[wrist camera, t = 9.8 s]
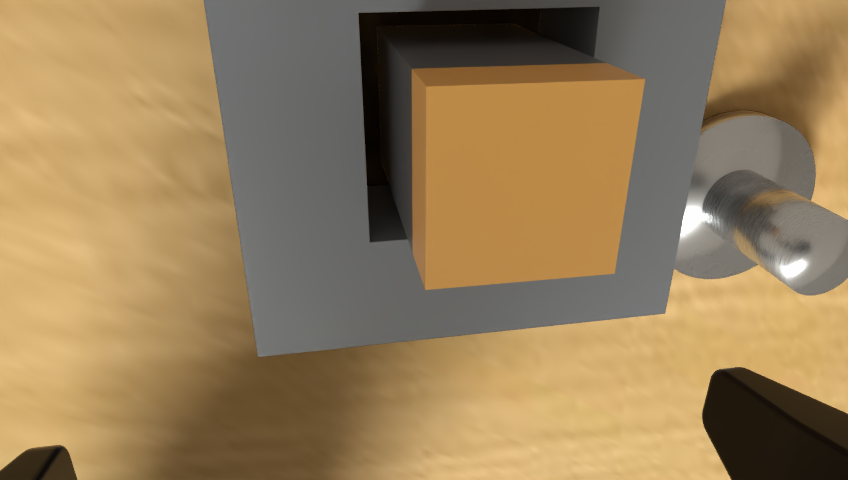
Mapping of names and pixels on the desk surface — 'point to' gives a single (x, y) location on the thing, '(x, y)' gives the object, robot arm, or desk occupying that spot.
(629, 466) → the desk surface
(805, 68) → the desk surface
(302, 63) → the frame
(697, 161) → the post
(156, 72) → the desk surface
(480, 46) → the block
